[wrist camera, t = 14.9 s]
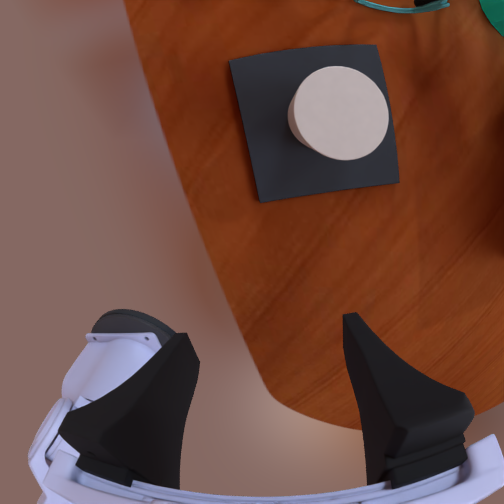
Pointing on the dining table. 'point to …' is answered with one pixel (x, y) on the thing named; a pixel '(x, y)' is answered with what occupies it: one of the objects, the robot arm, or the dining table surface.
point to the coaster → (281, 137)
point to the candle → (494, 13)
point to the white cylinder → (339, 113)
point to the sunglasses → (422, 3)
